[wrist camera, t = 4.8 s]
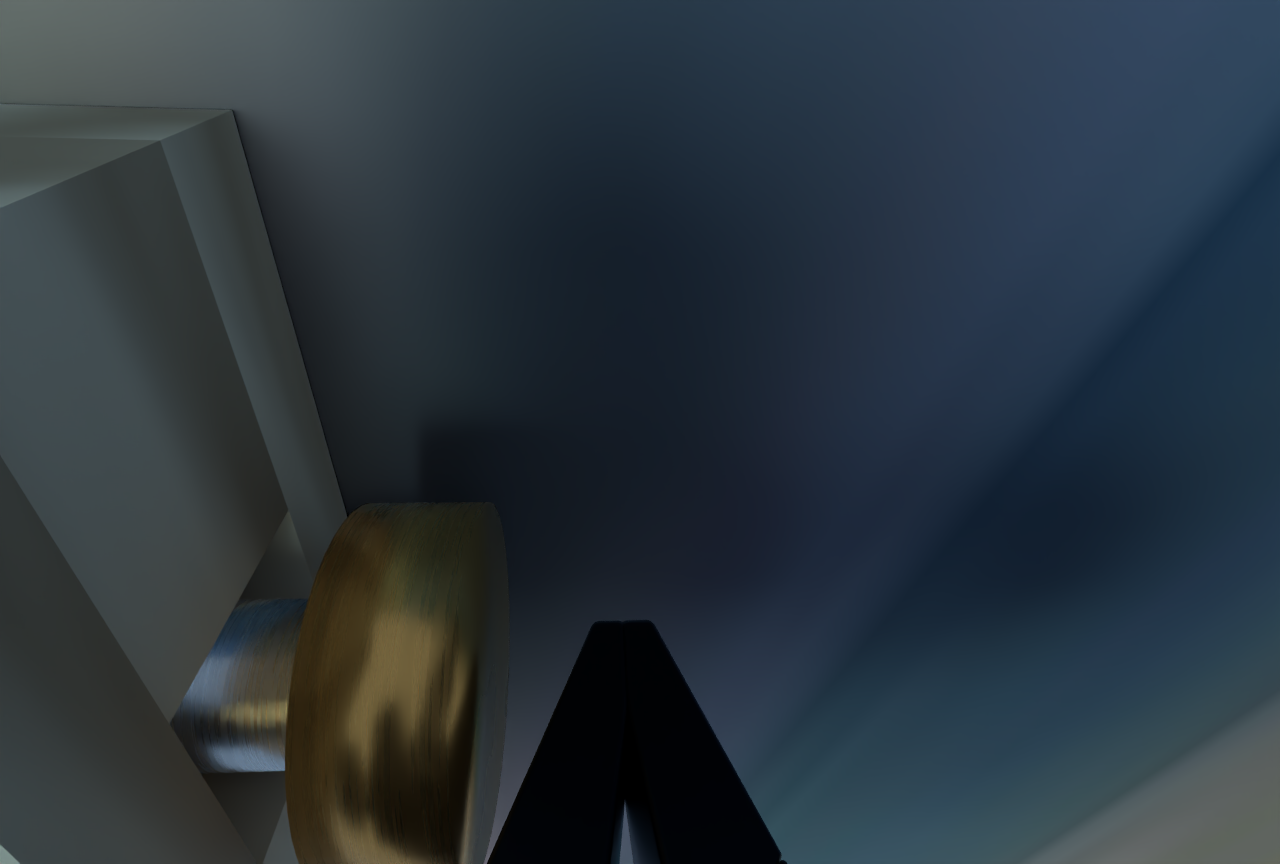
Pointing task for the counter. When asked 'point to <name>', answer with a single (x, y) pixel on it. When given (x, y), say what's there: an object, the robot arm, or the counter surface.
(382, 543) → the pin
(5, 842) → the block
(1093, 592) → the counter surface
